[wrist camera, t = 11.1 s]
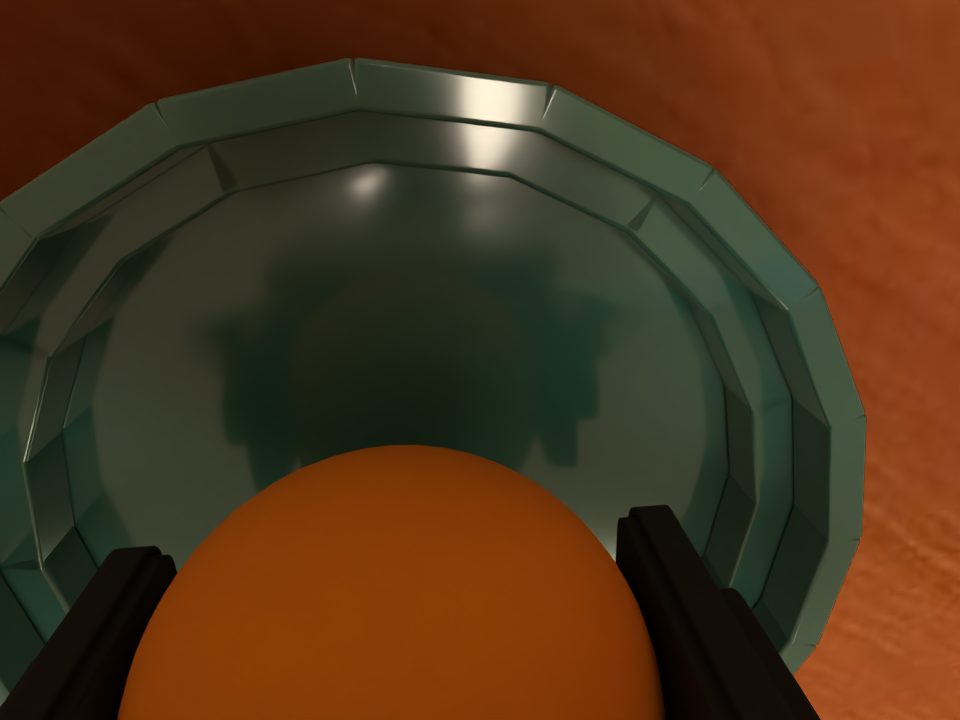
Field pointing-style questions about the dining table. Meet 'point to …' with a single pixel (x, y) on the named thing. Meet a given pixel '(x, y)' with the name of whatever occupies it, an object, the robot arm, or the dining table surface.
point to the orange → (398, 604)
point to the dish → (411, 330)
